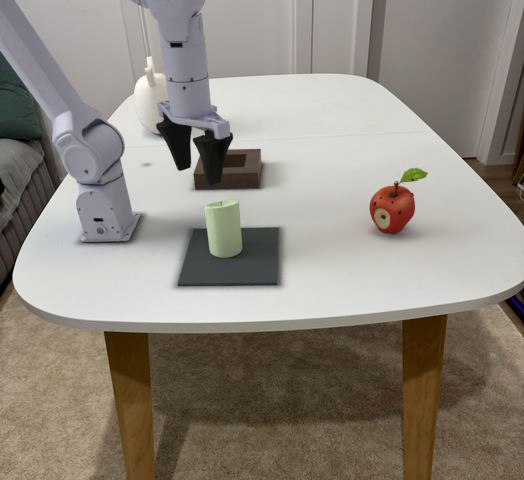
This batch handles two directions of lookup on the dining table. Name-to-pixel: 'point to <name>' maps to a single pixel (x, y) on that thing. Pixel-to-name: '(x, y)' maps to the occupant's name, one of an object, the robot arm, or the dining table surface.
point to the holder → (234, 170)
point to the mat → (232, 260)
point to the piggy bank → (150, 97)
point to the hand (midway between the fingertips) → (198, 175)
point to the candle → (224, 228)
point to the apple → (395, 204)
